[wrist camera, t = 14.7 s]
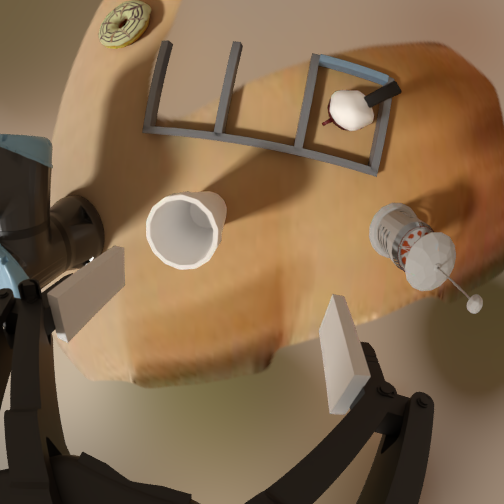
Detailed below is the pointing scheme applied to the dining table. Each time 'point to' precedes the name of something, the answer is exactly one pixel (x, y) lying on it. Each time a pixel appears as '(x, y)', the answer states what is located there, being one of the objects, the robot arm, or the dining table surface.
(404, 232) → the french press
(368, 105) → the cocoa
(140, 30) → the decorated donut
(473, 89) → the dining table surface
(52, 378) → the robot arm
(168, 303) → the dining table surface
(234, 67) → the organizer
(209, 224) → the foam cup
